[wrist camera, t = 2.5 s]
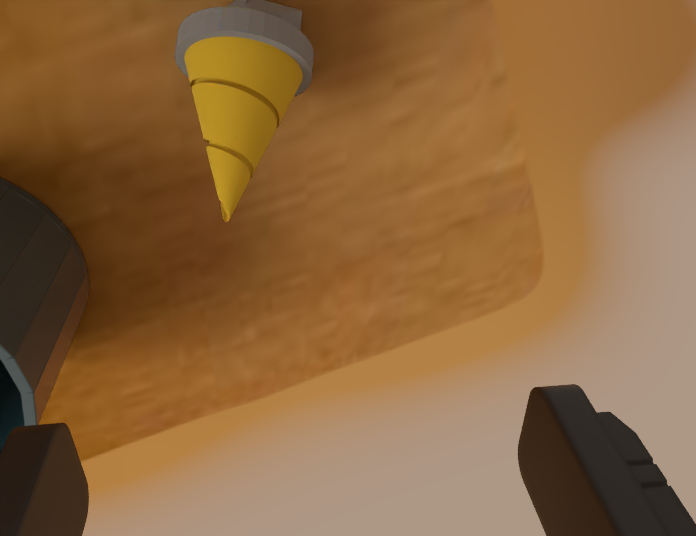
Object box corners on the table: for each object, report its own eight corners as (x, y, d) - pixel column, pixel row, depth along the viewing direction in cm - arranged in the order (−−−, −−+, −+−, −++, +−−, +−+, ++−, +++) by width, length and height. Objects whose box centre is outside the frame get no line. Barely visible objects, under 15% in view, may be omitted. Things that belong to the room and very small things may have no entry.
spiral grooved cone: (340, 13, 27) (320, 237, 25) (233, 31, 29) (207, 240, 27) (282, -77, 22) (251, 195, 20) (158, -47, 24) (119, 202, 22)
